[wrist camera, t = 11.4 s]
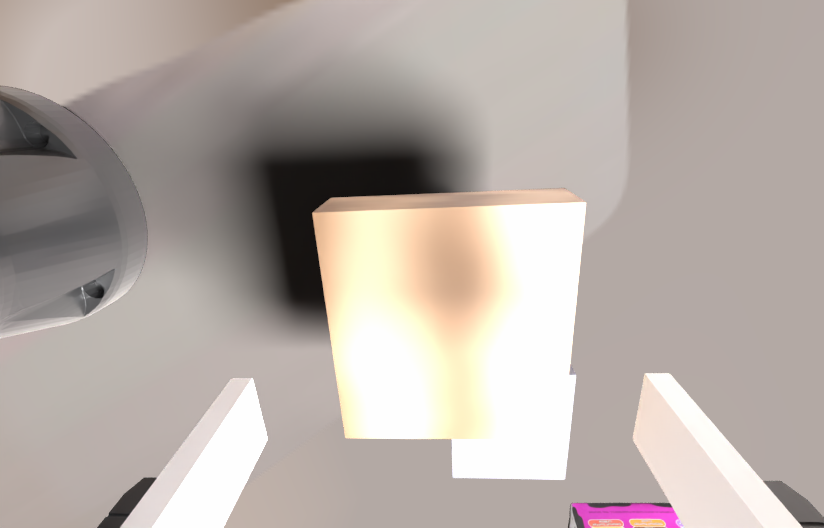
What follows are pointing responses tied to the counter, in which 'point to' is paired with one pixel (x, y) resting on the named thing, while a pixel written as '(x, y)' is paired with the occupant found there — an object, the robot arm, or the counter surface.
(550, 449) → the block
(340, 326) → the lid board
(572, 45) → the counter surface
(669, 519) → the candy bar box
